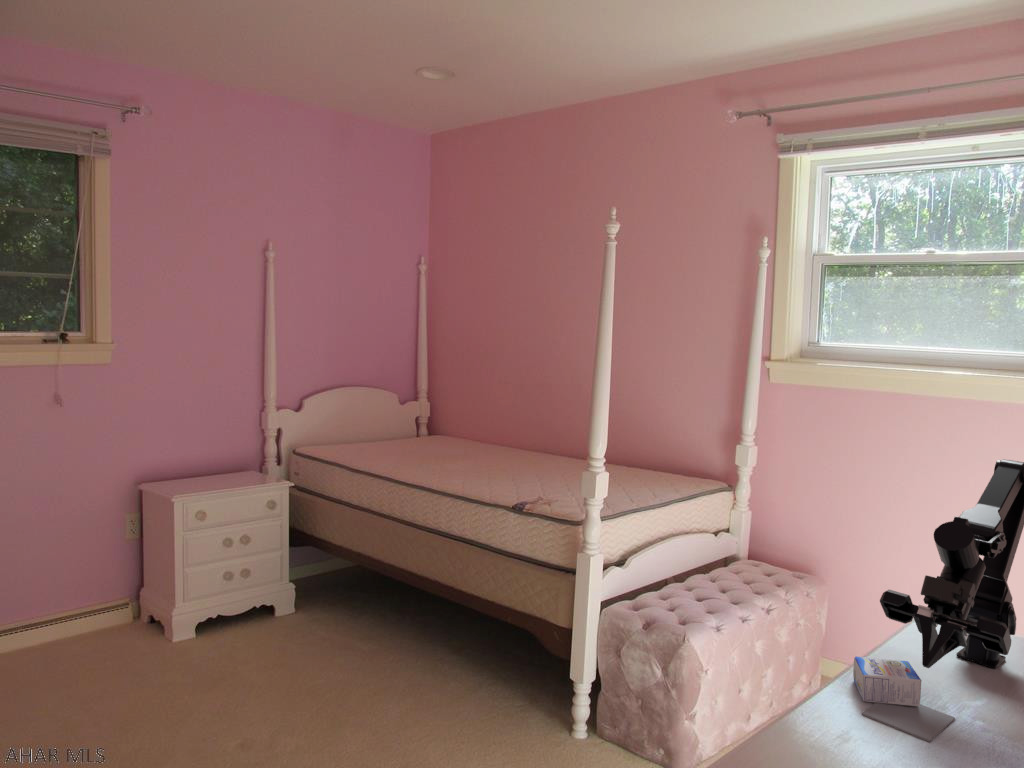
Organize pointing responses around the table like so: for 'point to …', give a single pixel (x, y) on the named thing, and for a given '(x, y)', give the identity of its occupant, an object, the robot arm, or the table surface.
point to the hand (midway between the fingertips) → (925, 666)
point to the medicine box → (887, 681)
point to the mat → (910, 719)
